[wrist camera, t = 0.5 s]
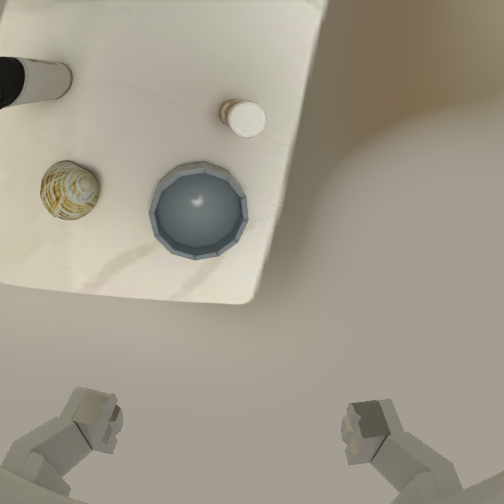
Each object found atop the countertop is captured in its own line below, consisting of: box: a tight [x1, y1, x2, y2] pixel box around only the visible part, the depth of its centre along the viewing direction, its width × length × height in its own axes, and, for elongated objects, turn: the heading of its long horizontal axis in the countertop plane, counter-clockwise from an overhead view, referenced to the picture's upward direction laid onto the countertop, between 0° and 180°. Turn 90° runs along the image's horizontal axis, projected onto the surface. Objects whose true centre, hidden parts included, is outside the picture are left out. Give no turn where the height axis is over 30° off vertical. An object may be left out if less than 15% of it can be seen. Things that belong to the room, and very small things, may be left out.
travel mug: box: [0, 57, 72, 110], centre depth 29 cm, size 6×7×20 cm
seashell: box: [40, 161, 98, 220], centre depth 44 cm, size 10×10×10 cm
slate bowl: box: [149, 162, 248, 260], centre depth 52 cm, size 16×16×4 cm
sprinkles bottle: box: [219, 99, 266, 138], centre depth 41 cm, size 5×5×13 cm
